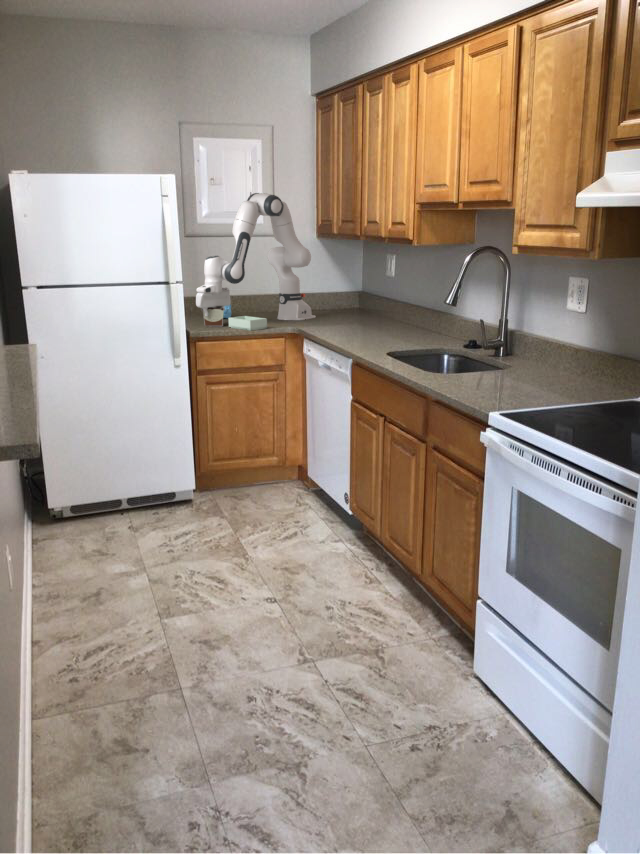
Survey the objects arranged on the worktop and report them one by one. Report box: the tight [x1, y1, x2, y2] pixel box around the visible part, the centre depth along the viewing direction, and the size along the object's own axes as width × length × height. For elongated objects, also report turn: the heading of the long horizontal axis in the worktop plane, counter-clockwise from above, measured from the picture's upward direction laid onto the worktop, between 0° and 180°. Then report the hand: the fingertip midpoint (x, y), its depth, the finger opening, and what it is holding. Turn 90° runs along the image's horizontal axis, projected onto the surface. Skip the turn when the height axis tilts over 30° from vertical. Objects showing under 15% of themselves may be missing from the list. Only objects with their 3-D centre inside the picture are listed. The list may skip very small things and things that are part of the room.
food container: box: [201, 306, 225, 327], centre depth 396 cm, size 12×6×10 cm, turn 84°
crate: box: [227, 315, 268, 332], centre depth 388 cm, size 11×17×5 cm, turn 46°
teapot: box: [223, 303, 232, 320], centre depth 423 cm, size 18×14×10 cm
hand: (214, 315), depth 396 cm, fingers open, 7 cm apart
